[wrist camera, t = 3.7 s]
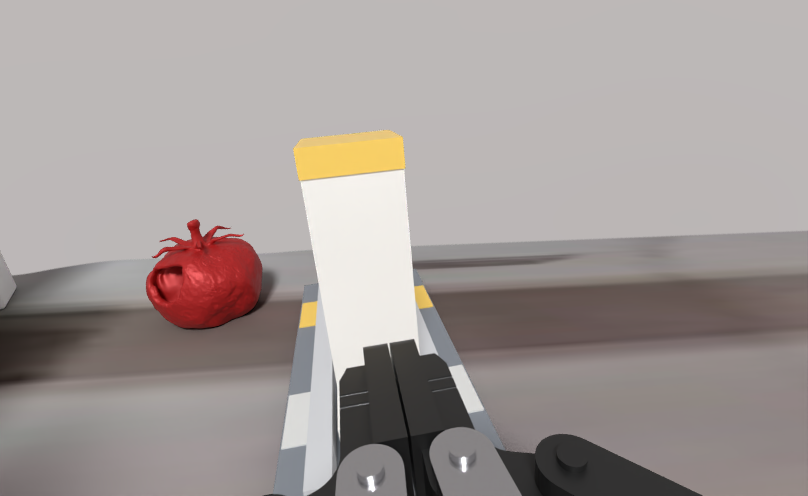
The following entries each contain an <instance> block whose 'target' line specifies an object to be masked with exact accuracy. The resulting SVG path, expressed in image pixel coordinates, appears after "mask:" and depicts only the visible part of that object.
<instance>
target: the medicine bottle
mask: <svg viewBox="0 0 808 496" xmlns="http://www.w3.org/2000/svg"><path fill="white" fill-rule="evenodd" d="M16 288H17V286H16V284H15V282H14V280H13V277H12V275H11V273H10V271H9V269H8V267H7V265H6V263H5V260H4V259H3V256H2V254H1V252H0V309H3V308H5V306H6V305H7V303H8V301H9V300H10V298H11V296H12V294H13V293H14V291H15V289H16Z"/></svg>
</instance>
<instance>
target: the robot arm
mask: <svg viewBox="0 0 808 496" xmlns="http://www.w3.org/2000/svg"><path fill="white" fill-rule="evenodd" d="M389 346H390V352H389V348H388V344H387V343H385V344H379V345H373V346H367V347H363V354H364V363H365V365H362V366H356V367H351V368H346V370H345V372H344V374H343V376H342V377H341V379H340V381H339V396H340V461H339V465H338V467H337V469H336V471H335V473H334V474H333V476H332V477H331V478H330V480H329V481H328V482H327V483H326V484H325V485H323V486H322V487H321V488H319V489H318V490H316V491H315V492H313V493H311V494H309V495H307V496H414V490H415V495H416V496H702V495H700V494H698V493H696V492H694V491H692V490H690V489H688V488H686V487H683V486H681V485H679V484H677V483H675V482H673V481H671V480H669V479H667V478H665V477H662V476H660V475H658V474H656V473H654V472H652V471H650V470H648V469H646V468H644V467H641V466H639V465H637V464H635V463H633V462H631V461H629V460H627V459H625V458H623V457H621V456H618V455H616V454H614V453H612V452H610V451H608V450H606V449H604V448H602V447H600V446H597V445H595V444H593V443H591V442H589V441H587V440H585V439H582V438H580V437H577V436H573V435H568V434H556V435H552V436H549V437H547V438H545V439H543V440H542V441H541V442H540V443H539V444H538V446H537V448H536V452H535V454H532V453H521V452H511V451H505V450H501V449H498V448H496V447H494V445H493V444H492V442H491V441H490V440H489V438H488V437H487V436H485V435H484V434H483V433H481V432H479V431H477V430H475V428H474V426H473V423H472V421H471V419H470V416H469V414H468V412H467V409H466V407H465V405H464V402H463V400H462V398H461V395H460V393H459V391H458V388H457V387H456V384H455V381H454V379H453V378H452V374H451V372H450V370H449V367H448V365H447V363H446V362H445V361H444V360H443V359H441V358H440V357H439V356H438V355H437V354H435V353H432V354H427V355H421V356H420V355H419V352H418V349H417V346H416V343H415V340H414V339H410V340H404V341H398V342H392V343H389ZM390 355H391V357H390ZM413 486H414V488H413ZM264 496H285V495H280V494H269V495H264Z"/></svg>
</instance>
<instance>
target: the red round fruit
mask: <svg viewBox="0 0 808 496" xmlns="http://www.w3.org/2000/svg"><path fill="white" fill-rule="evenodd" d="M199 226H200V222H199V221H198V220H196V219H195V220H192V221H190V222H188V223H187V227H188V229H189V230H190V233H191V238H192V239H191V240H187V241H184V240H182V239H179V238H176V237H171V238H167V239H165V240H162V241H166V240H172V241H174V242H176V243H178V244H177V245H175V246H174V247H165V248H163V249H161V250H160V251H159V253H158V254H157V255H156V256H154V257H153V258H157V257H159V256H160V255H161V254H162V253H164V252H167V251H169V252H168V253H167V254H166V255H165V256H164V258H163V259H162V260H161V261H159V262H158V263H157V264H156V265H155V267H154V268H153V271H152V272H150V273H149V275H148V277H147V280H146V292H147V296H148V298H149V300H150V301H151V302H152V304H153V306H154V308H155V309H156V310H158V311H159V312H160V313H161V315H162V316H163V317H164V318H165V319H166V320H168V321H169V322H171V323H173V324H175V325H177V326H179V327H182V328H207V327H215V326H219V325H222V324H225V323H227V322H228V321H230V320H231V319H234V318H237V317H240V316H243V315H244V314H246V313H248V312H249V311H250V310H251V309H253V308H254V306H255V304H256V303H257V301H258V299H259V295H260V291H261V286H262V283H261V282H262V264H261V261H260V259H259V257H258V255H257V254H256V252H255V250H254V249H253V247H252V246H251V245H250V244H249V243H247V242H246V241H244V240H242V239H237V238H225V237H229V236H235V237H240V236H243V235H236V234H228V235H225V236H221V237H213V235H214V233H215V232H216V230H217V229H230V228H225V227H222V226H216V227H214V228H213V229H212V230H210V231H209V232H208V233H207V234H206V235H205V236H204V237H202V236H201V234H200V231H199ZM162 241H160V242H162Z"/></svg>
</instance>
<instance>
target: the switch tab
mask: <svg viewBox="0 0 808 496" xmlns="http://www.w3.org/2000/svg"><path fill="white" fill-rule="evenodd" d="M293 150H294V156H295V161H296V167H297V172H298V178H299V181H301V186H302V192H303V198H304V203H305V209H306V214H307V220H308V226H309V231H310V237H311V243H312V248H313V254H314V259H315V265H316V271H317V276H318V282H319V288H320V293H321V299H322V305H323V310H324V316H325V321H326V327H327V333H328V338H329V344H330V350H331V355H332V361H333V366H334V372H335V378H336V383H337V406H338V433H339V439H340V396H339V381H340V379H341V377H342V376H343V374H344V372H345V370H346V368H351V367H356V366H362V365H365V363H364V354H363V347H367V346H373V345H379V344H385V343H387V344H388V348H389V352H390V346H389V343H392V342H398V341H404V340H410V339H414V340H415V343H416V346H417V349H418V352H419V355H420V350H419V338H418V327H417V315H416V303H415V292H414V280H413V269H412V257H411V245H410V234H409V223H408V211H407V199H406V189H405V188H406V187H405V176H404V169H405V159H404V147H403V137H402V136H400V135H398V134H396V133H394V132H392V131H390V130H383V131H374V132H364V133H353V134H345V135H334V136H324V137H315V138H305V139H301V140H300V141H299V142H298V143H297V145H296V146H295V147H294V148H293ZM390 357H391V355H390Z"/></svg>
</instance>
